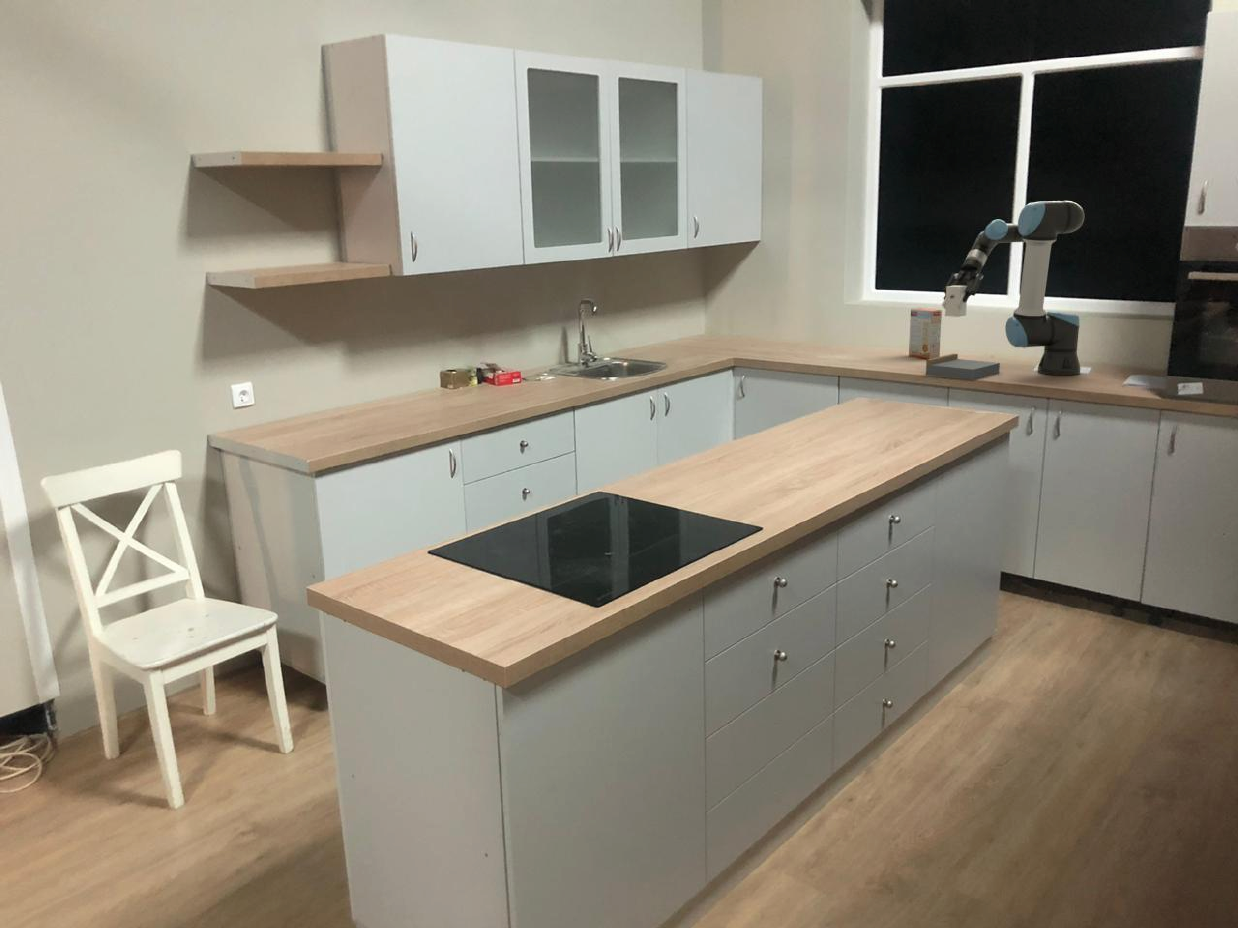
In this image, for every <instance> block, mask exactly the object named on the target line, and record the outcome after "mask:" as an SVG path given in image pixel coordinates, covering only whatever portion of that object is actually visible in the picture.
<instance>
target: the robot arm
mask: <svg viewBox="0 0 1238 928" xmlns="http://www.w3.org/2000/svg"><path fill="white" fill-rule="evenodd" d="M1084 222H1085V212H1084V209H1083V207H1082V206H1081V205H1079V204H1078V203H1076V202H1074V201H1070V200H1063V201H1061V200H1057V201H1055V200H1053V201H1035V202H1029V203H1028V204H1026V205H1025V206H1024V207H1023V208H1022V209H1021V211H1020V213H1019V216H1018V219H1017V223H1006V221H1004V220H1002V219H994V220H992V221H991V222H990V223H989V224H988V225H987V226H986V227H985V229H984V230H983V231H980V233H979V234H978V235H977V236H976V238H975V241H974V242H973V246H972V248H971V250H970V251H969V252H968V254H967V257H966V258H965V260H964V261H963V264H962V266H961V270H959V272H958V273H955V272H952V273H951V275H950V277H949V279H948V281H947V282H946V284H945V286H944V288H943V289H942V291H943V293H944V297H943V301H942V303H941V306H942V308H943V309H944V310H945V305H946V286H953V285H957V286H963V284H964V283H966V286H967V287H966V291H965V292H966V294H965V293H963V294H962V296H961V298H960V300H959V302H958V304H957V306H958V308H959V309H961V308H962V306H963V304H964V302H966V301H967V302H968V300H969V298H970V297H971V296H973V297H975V296H976V293H977V292H978V289H979V287H980V285H981V282H982V281H983V280H984V275H983V273H981V271H982V270H983V267H984V265H985V264H986V262H987V259H988V257H989V256H990V254H991V252H992V251H993V249H994V248H995V247H996V246H998V244H1002V243H1003V244H1005V243H1007V244H1008V243H1025V251H1024V258H1023V259H1024V261H1023V268H1022V276H1021V285H1020V293H1019V301H1018V302H1019V303H1018V307H1017V308H1016V309H1014V311H1013V315H1012V316H1010V317H1009V318H1007V321H1006V322H1005V326H1004V327H1005V328H1004V329H1005V337H1006V338H1007V341H1008V343H1009V345H1011V346H1012V347H1014V348H1024V349H1025V348H1035V347H1044V348H1043V354H1042V356H1041V358H1040V361H1039V362H1038V365H1037V373H1039V374H1042V375H1049V376H1050V375H1051V376H1075V375H1079V374H1081V364H1080V361H1079V357H1078V343H1079V331H1080V316H1079V315H1077V314H1074V313H1068V312H1061V311H1047V312H1046V310H1045V309H1044V302H1045V294H1046V287H1047V280H1048V273H1049V265H1050V258H1051V250H1052V244H1053V243H1055V242H1057V238H1058V235H1059V234H1062V235H1063V234H1069V233H1074V232H1075V231H1078V230H1079V229H1080V228H1081V227H1082V226H1083V224H1084Z"/></svg>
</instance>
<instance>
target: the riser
mask: <svg viewBox="0 0 1238 928" xmlns="http://www.w3.org/2000/svg"><path fill="white" fill-rule="evenodd" d="M958 355H959V354H958V353H950V354H945V355H942V356H939V357H936V358H932V359H925V360H926V362H925V363H926V364H925V367H926V368H925V375H926V376H933V377H941V378H942V377H943V378H950V379H959V380H961V379H962V380H967V381H968V380H970V381H974V380H978V379H979V380H980V379H982V378H987V377H990V376H993V375H997V374H999V373H1000V366H1001V363H1000V362H995V361H982V360H974V359H973V360H972V359H960V358H958V357H959V356H958Z"/></svg>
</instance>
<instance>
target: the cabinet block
mask: <svg viewBox="0 0 1238 928" xmlns="http://www.w3.org/2000/svg"><path fill="white" fill-rule="evenodd" d="M945 286H946V285H945ZM966 287H967V285H960V286H957V285H953V286H946V305H945V309H944V310H945V311H944V317H953V318H954V317H956V318H960V317H965V316H967V302H968V300H967V301H966V302H964V304H963V306H962V308H961V309H959V308H958V306H957V304H958V302H959V300H960V298H961V296H962V294H963V293H965V294H966V292H965V291H966Z"/></svg>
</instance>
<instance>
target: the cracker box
mask: <svg viewBox="0 0 1238 928" xmlns="http://www.w3.org/2000/svg"><path fill="white" fill-rule="evenodd" d="M942 313H943V311H942V310H940V309H934V308H923V307H922V308H921V307H918V308H917V307H916V308H911V309H910V320H909V321H910V324H909V340H908V341H909V346H908V347H909V348H908V357H909V356H910V357H914V358H920V359H925V360H927V359H932V358H936V357H941V356H940V355H941V354H940V351H941V335H942V333H941V332H942V315H943V314H942Z"/></svg>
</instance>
